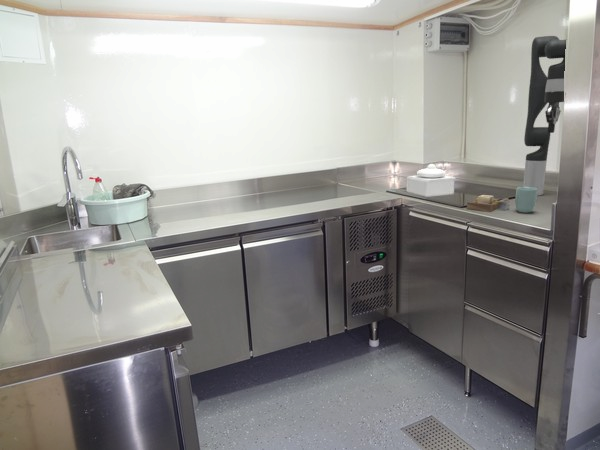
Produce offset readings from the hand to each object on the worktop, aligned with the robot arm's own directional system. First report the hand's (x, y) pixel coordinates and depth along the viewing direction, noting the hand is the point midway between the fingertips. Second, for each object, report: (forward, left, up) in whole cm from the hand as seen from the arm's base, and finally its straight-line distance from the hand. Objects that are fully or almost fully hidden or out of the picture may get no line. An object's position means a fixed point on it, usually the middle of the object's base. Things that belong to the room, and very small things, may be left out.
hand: (550, 132), depth 185 cm
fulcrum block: (+20, -10, -32) cm, 39 cm away
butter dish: (0, -55, -32) cm, 63 cm away
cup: (+20, -1, -32) cm, 38 cm away
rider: (+21, -17, -32) cm, 42 cm away
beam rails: (+17, -17, -32) cm, 40 cm away
